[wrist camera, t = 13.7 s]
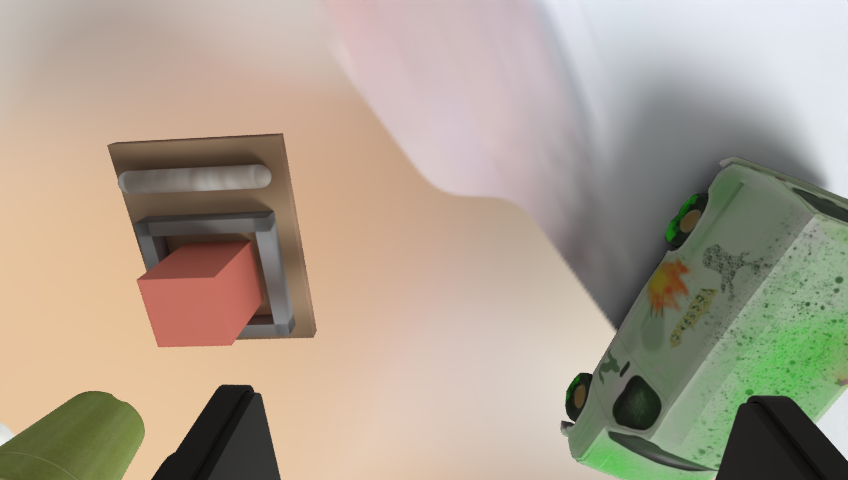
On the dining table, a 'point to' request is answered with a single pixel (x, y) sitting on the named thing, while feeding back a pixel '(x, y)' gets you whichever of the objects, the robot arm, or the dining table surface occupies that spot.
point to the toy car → (721, 329)
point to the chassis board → (222, 214)
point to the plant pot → (76, 442)
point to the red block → (202, 294)
